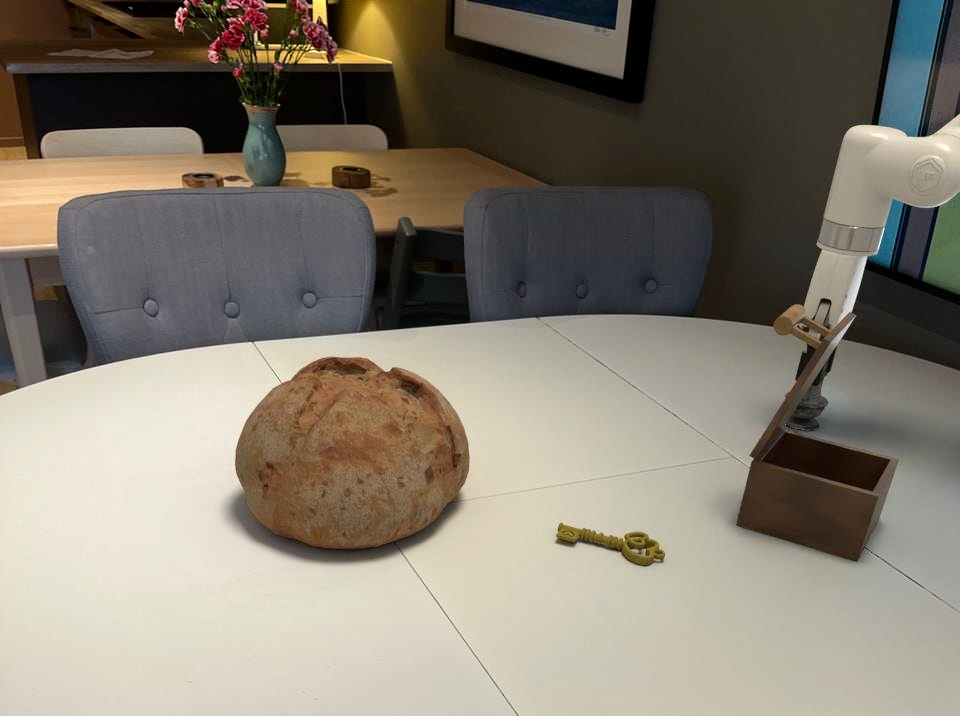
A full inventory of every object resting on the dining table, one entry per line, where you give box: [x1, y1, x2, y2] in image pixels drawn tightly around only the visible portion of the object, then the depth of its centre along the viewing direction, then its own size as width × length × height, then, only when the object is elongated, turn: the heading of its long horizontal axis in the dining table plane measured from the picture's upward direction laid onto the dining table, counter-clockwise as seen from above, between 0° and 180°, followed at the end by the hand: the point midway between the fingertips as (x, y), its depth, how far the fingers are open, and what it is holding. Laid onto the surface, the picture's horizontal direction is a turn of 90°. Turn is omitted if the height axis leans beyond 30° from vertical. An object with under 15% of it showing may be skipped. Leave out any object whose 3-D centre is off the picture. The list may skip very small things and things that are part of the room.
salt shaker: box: [784, 338, 829, 431], centre depth 135 cm, size 6×6×12 cm
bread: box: [234, 356, 471, 550], centre depth 106 cm, size 26×23×15 cm
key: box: [555, 522, 666, 566], centre depth 105 cm, size 12×1×5 cm
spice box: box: [735, 428, 900, 562], centre depth 111 cm, size 14×12×8 cm
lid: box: [749, 303, 857, 459], centre depth 107 cm, size 14×12×6 cm
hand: (812, 375), depth 134 cm, fingers open, 5 cm apart
